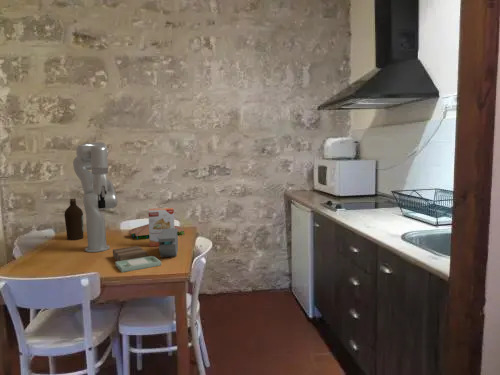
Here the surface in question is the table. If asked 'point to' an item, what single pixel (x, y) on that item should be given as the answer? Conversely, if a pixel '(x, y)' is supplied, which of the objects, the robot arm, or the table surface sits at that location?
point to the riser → (129, 253)
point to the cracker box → (159, 223)
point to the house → (147, 231)
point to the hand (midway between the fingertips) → (101, 207)
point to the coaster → (136, 262)
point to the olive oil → (74, 221)
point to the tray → (152, 263)
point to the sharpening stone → (168, 242)
